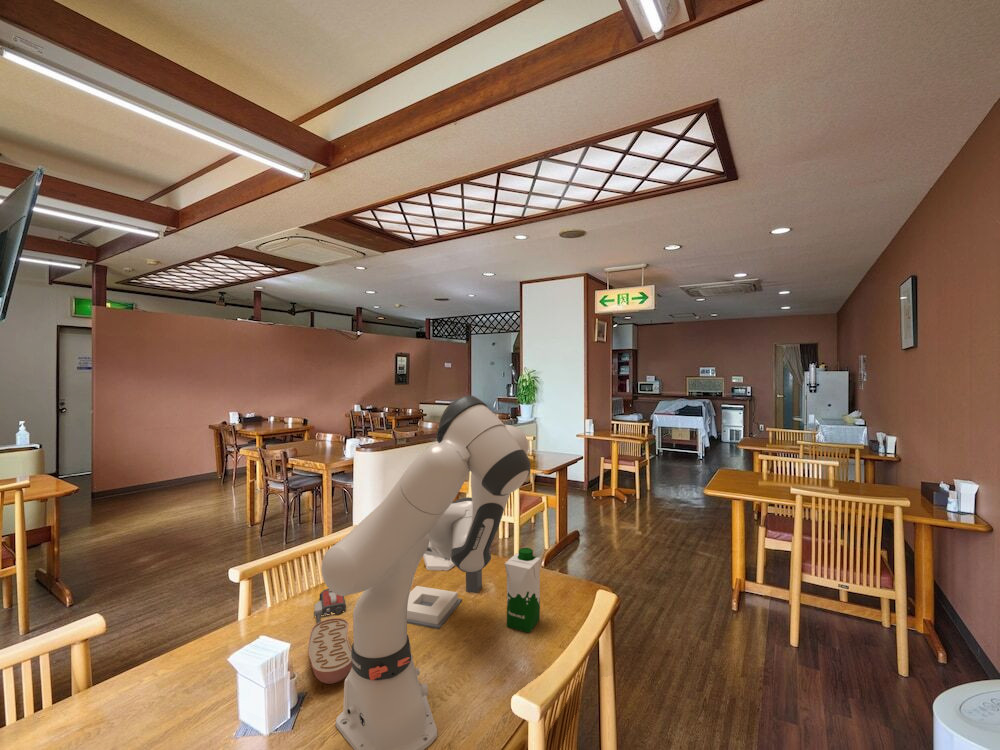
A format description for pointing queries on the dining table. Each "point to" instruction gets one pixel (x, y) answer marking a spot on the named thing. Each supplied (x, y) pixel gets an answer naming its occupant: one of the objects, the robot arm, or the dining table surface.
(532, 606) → the milk carton
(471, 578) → the plug
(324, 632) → the anatomical model
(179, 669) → the dining table surface
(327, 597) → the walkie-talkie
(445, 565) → the white statue
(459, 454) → the robot arm
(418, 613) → the socket
